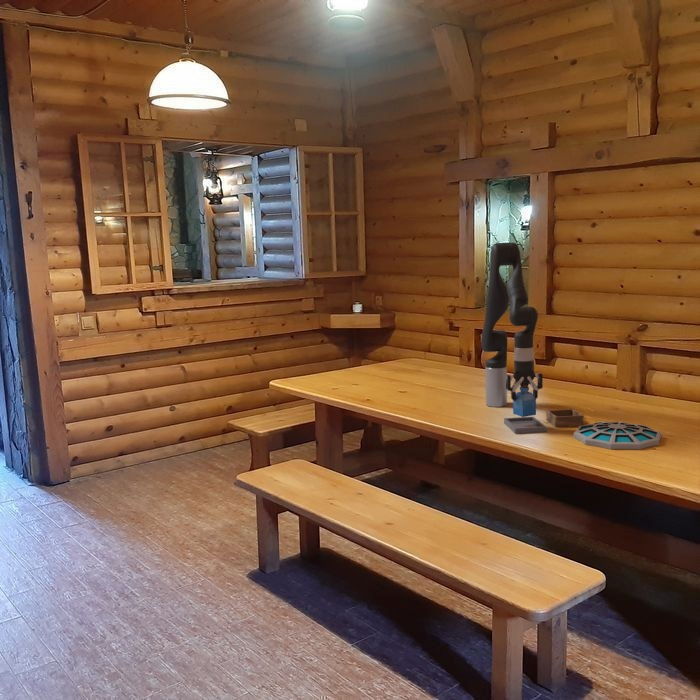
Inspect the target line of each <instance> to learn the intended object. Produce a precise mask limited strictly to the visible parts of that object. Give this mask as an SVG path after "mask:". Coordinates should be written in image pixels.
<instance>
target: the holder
mask: <svg viewBox="0 0 700 700" xmlns="http://www.w3.org/2000/svg"><path fill="white" fill-rule="evenodd" d="M545 415H546V422H547V423H549V424H551V425H552V426H553V427H555V428H565V427H568V426H569V427H578V426H583V425H585V423H584V420H585V419H584V416H585V415H583V414H582V413H580V412H579V411H577V410H575V409H573V408H568V409H566V408H565V409H552V410H551V409H549V410H548V409H547V410H546V413H545Z"/></svg>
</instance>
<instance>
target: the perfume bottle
mask: <svg viewBox="0 0 700 700" xmlns="http://www.w3.org/2000/svg"><path fill="white" fill-rule="evenodd" d="M529 390H530V386H529V385H526V384H525V385H519V391H517V392H516V401H513V400H512V413H513V415H516V416H518V417H533V416H536V415H537V398H536V399H535V397H534V396H533V392H530V391H529Z"/></svg>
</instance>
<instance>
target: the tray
mask: <svg viewBox="0 0 700 700" xmlns="http://www.w3.org/2000/svg"><path fill="white" fill-rule="evenodd" d="M503 424H505V426H506V427H507V428H509V429H510V431H512V432H513V433H514V434H515V435H519V434H533V433H535V432H537V433H547V426H546V425H544V423H542V422H541V421H540V420H539V419H537V418H536V417H534V416H526V417H521V416H518V417H505V418H503Z"/></svg>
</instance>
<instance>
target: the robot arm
mask: <svg viewBox="0 0 700 700" xmlns="http://www.w3.org/2000/svg"><path fill="white" fill-rule="evenodd" d="M489 259H490V262H489V263H490V264H489V279H488V287H487V296H486V305H485V306H486V307H485V315H484V316H485V317H484V324H483V328H482V333H481V339H480V340H481V341H480V345H481V349H482V351H483V352H485V353H492V352H494V353H495V352H497V353H496V354H495V355H493V356H492V357H490V358H488V359H486V360H485V361H484V362H485V363H484V364H485V365H484V366H485V367H484V369H485V406H487V407H493V408H500V407H506V406H508V391H510V398H511V400H512V402H513V401H516V393H517V392H516V390H517V389H518V388H520V385H525V384H526V385H528V386H529V385H530V386H531V388H532V394H533V396H534V397H535V399H536V400H537V399H538V397H539V396H538V395H539V394H538V393H539V392H538V391H539V390H541V389H543V387H544V386H543V381H544V380H543V373H541V372H536V373H535V351H534V333H535V329H536V326H537V322H538V318H539V314H538V313H539V312H538V310H537V309H536V308H535V307H534V306H526V305H527V304H528V302H529V297H528V294H527V289H526V287H525V282H524V276H523V275H524V273H523V265H522V259H521V250H520V248H519V244H518V243H516V242H497V243H494V244H492V246H491V250H490V258H489ZM503 266H504V267H506V266H507V267H508V266H512V273H511V275H510V277H509V279H508V281H507V284H506V283H505V281H504V280H503V278H502V276H501V273H500V267H503ZM508 308H509V317H508V318H509V322H510V323H511V325H512V326H515V327H522V326H525V328H524V329H523V330H520V331H517V332H515V333H514V336H513V337H514V339H513V340H514V350H513V374H507V373H508V370H507V369H508V367H507V363H508V334H507V332H506V331H505V330H503V329H502V330H501V329H500V330H499V329H498V330H494V328H495V326H496V324H497V323H498V322H499V320H500V319H501V318H502V317H503V316H504V315H505V313H506V312H507V310H508ZM535 378H536V379H537V385H536V384H535V382H534V381H533V380H534V379H535ZM513 379H514V381H513V384H512V383H511V381H512V380H513ZM511 385H512V386H511Z"/></svg>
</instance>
